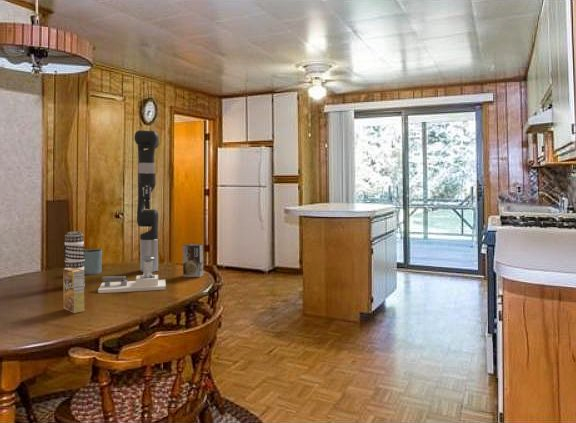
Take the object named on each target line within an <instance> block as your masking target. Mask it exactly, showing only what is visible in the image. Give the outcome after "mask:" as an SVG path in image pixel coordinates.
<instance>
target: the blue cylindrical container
mask: <svg viewBox="0 0 576 423" xmlns="http://www.w3.org/2000/svg"><path fill="white" fill-rule="evenodd" d="M84 250H85V252H83V254H85V256H83V257H84V258H85V260H84V261H83V262H84V270H85V272H84V274H85V275H99V274H101V273H102V262H103V261H102V260H103V258H102V257H103V249H101V248H92V249H91V248H90V249H84Z"/></svg>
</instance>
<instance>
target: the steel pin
mask: <svg viewBox="0 0 576 423" xmlns="http://www.w3.org/2000/svg"><path fill="white" fill-rule="evenodd" d="M143 260H144V267H143V272H142V275H143V279H149V278H152V275H153V272H152V270H153V260H154V257H150V256H146V257H143Z"/></svg>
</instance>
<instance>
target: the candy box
mask: <svg viewBox="0 0 576 423" xmlns="http://www.w3.org/2000/svg"><path fill="white" fill-rule="evenodd" d="M62 274H63V275H62V277H63V278H62V281H63V282H62V283H63V284H62V286H63V288H62V290H63V293H62V294H63V295H62V296H63V299H62V300H63V309H64V310H66V311H69V312H71V313H72V314H77V313H83V312H85V286H84V284H85V283H84V281H85V280H84V277H85V275H84V270H80V269H76V268H63V269H62Z"/></svg>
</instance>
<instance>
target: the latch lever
mask: <svg viewBox="0 0 576 423" xmlns="http://www.w3.org/2000/svg"><path fill="white" fill-rule="evenodd" d="M105 280H110V281H121V280H123V281H124V280H127V276H126V275H123V276H122V275H120V276H116V275H114V276H109V275H108V276H102V277H101V281H105Z"/></svg>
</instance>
